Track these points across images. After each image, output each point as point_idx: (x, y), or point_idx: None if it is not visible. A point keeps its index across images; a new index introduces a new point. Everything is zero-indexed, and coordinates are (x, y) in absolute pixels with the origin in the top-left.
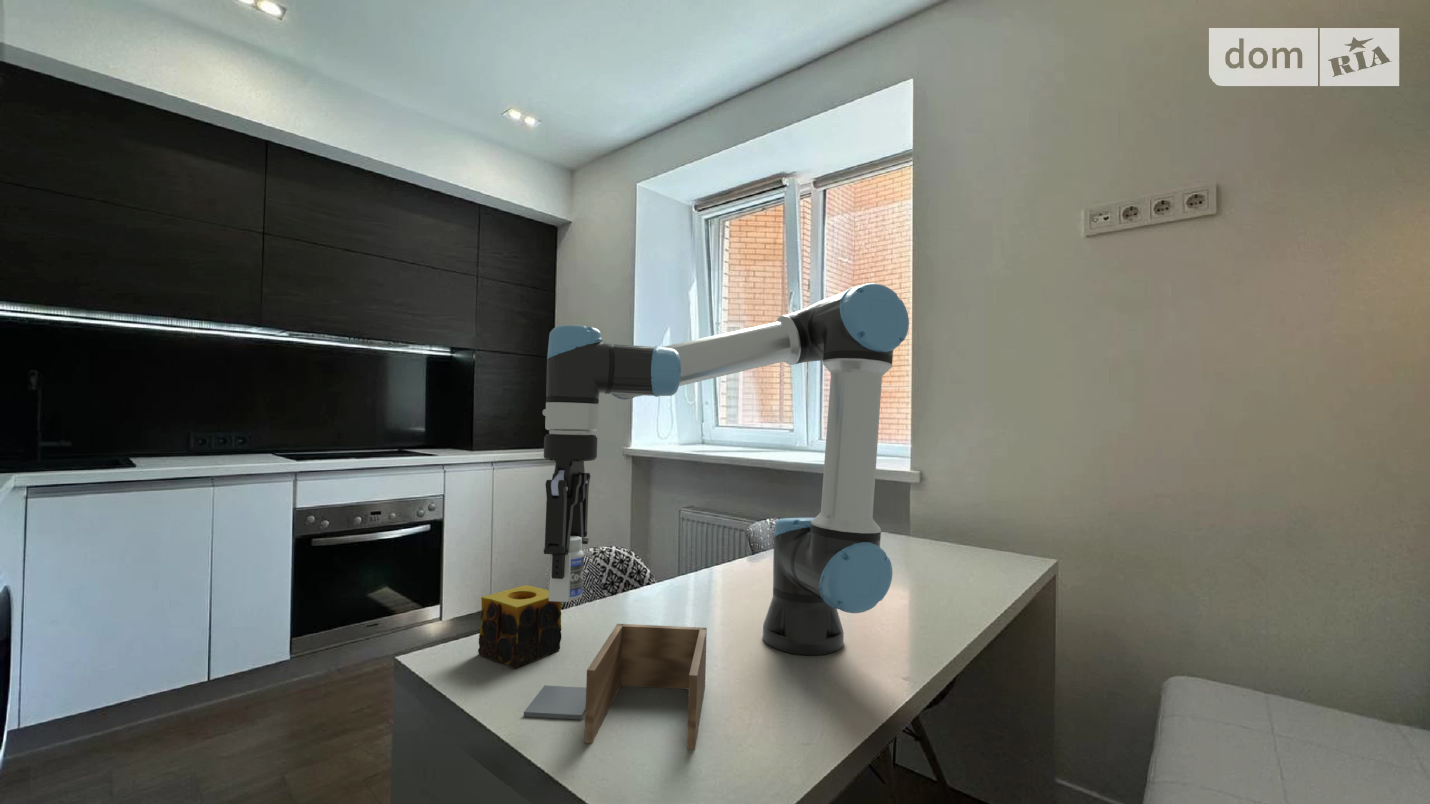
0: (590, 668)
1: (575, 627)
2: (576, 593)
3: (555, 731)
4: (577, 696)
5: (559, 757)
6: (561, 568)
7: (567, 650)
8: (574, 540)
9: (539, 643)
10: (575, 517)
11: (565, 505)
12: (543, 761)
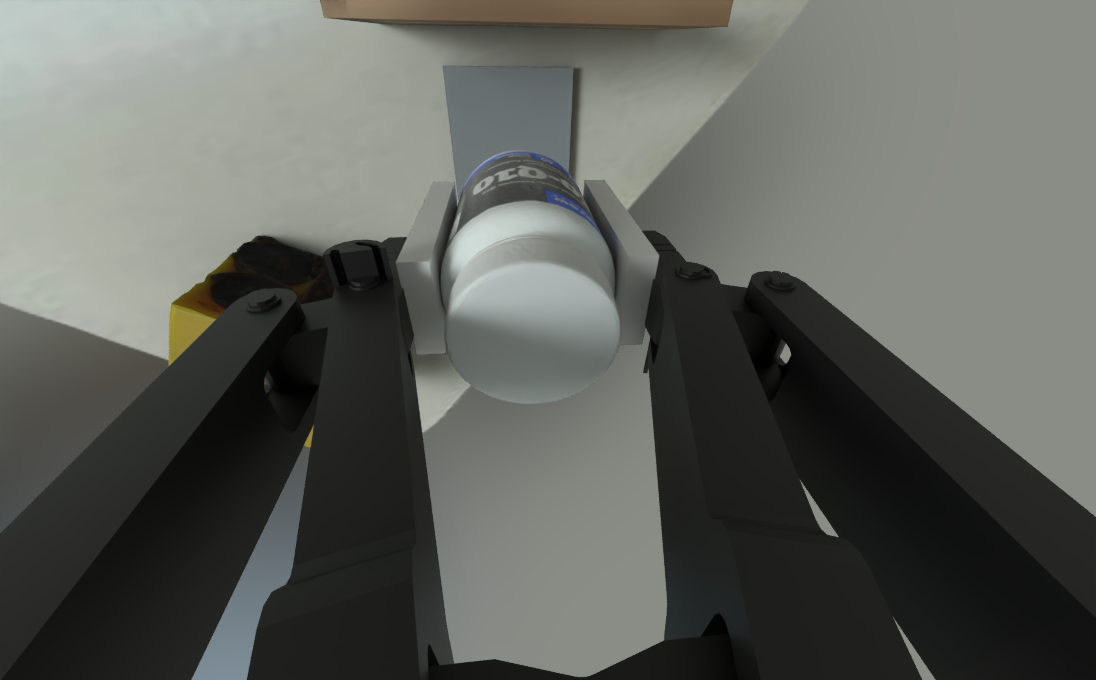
0: (717, 17)
1: (98, 246)
2: (559, 166)
3: (617, 112)
4: (492, 106)
5: (705, 70)
6: (677, 251)
7: (251, 216)
8: (602, 286)
9: (315, 276)
10: (413, 430)
11: (1058, 539)
12: (713, 99)
